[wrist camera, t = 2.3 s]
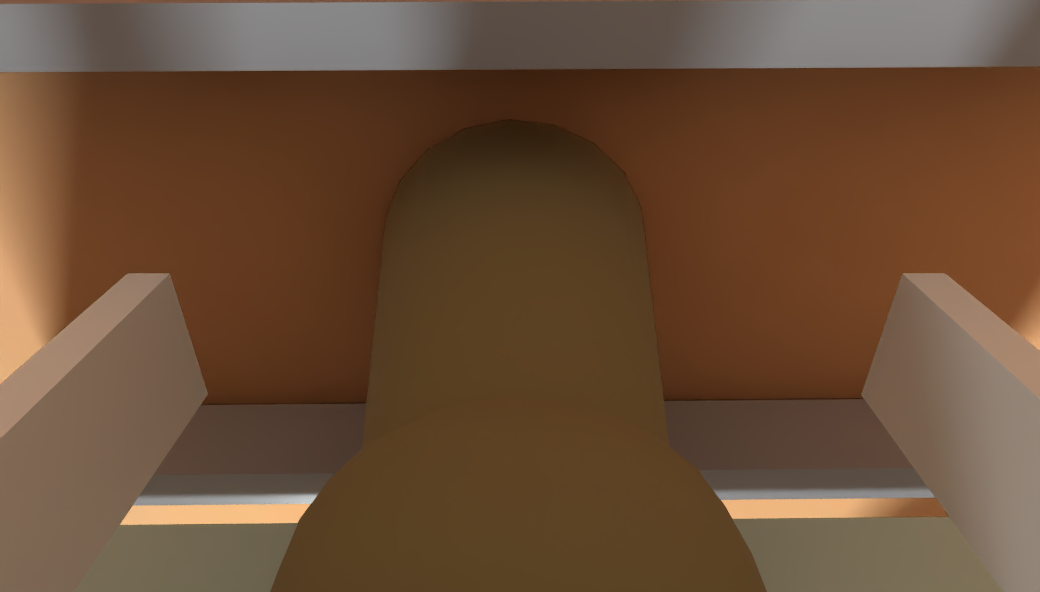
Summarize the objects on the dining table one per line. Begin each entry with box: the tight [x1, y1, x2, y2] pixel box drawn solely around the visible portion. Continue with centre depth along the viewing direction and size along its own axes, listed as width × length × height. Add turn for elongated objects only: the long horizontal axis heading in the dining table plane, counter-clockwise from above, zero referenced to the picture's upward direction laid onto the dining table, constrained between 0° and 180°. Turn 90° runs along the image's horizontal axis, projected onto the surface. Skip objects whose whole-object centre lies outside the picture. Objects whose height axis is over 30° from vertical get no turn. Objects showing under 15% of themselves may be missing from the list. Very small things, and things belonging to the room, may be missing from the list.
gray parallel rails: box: [0, 0, 1040, 505], centre depth 14 cm, size 24×11×2 cm, turn 90°
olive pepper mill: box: [270, 120, 767, 592], centre depth 10 cm, size 6×6×11 cm
